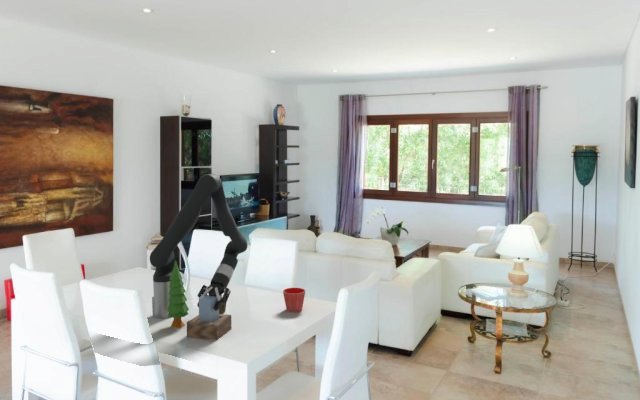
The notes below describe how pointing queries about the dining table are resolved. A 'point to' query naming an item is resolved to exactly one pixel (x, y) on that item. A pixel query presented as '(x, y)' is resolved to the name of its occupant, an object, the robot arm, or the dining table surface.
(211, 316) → the blue-grey square-topped block
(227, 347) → the dining table surface
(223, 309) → the cup
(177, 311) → the decorative tree
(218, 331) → the square wooden tray
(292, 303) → the flower pot
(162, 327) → the dining table surface
